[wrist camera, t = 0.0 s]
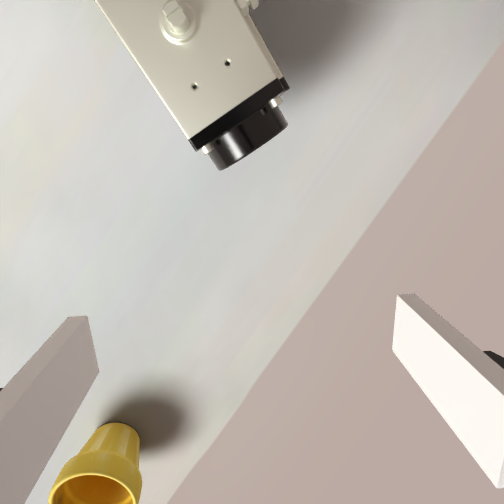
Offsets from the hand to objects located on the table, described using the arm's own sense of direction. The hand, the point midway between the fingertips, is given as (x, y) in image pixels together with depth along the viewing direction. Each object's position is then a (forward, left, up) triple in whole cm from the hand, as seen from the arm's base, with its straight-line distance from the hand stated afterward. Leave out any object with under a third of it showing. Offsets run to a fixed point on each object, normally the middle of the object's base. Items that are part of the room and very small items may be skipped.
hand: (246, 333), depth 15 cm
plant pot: (+33, -19, -28) cm, 47 cm away
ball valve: (-15, -2, -28) cm, 32 cm away
